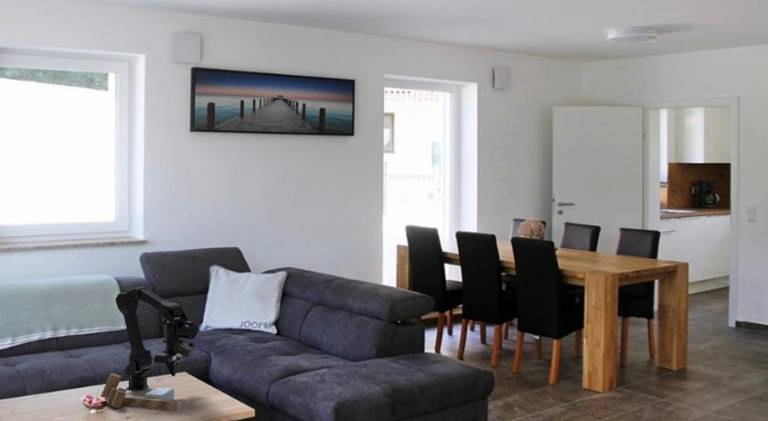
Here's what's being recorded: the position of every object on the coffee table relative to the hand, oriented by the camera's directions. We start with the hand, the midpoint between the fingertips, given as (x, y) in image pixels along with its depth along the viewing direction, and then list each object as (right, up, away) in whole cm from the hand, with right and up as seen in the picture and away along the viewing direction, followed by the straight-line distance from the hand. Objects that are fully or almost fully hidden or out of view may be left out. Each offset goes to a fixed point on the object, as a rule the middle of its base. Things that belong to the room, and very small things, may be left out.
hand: (173, 376), depth 313 cm
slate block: (-3, -8, -10) cm, 13 cm away
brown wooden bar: (-5, -8, -16) cm, 18 cm away
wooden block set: (-20, -8, -11) cm, 24 cm away
